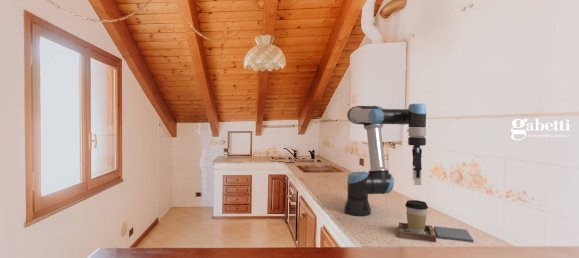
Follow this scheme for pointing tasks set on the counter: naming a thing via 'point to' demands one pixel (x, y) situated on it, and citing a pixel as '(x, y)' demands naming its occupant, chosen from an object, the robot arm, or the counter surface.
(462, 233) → the trivet mat
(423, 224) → the coffee cup
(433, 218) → the counter surface
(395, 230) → the counter surface
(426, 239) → the walnut collar
